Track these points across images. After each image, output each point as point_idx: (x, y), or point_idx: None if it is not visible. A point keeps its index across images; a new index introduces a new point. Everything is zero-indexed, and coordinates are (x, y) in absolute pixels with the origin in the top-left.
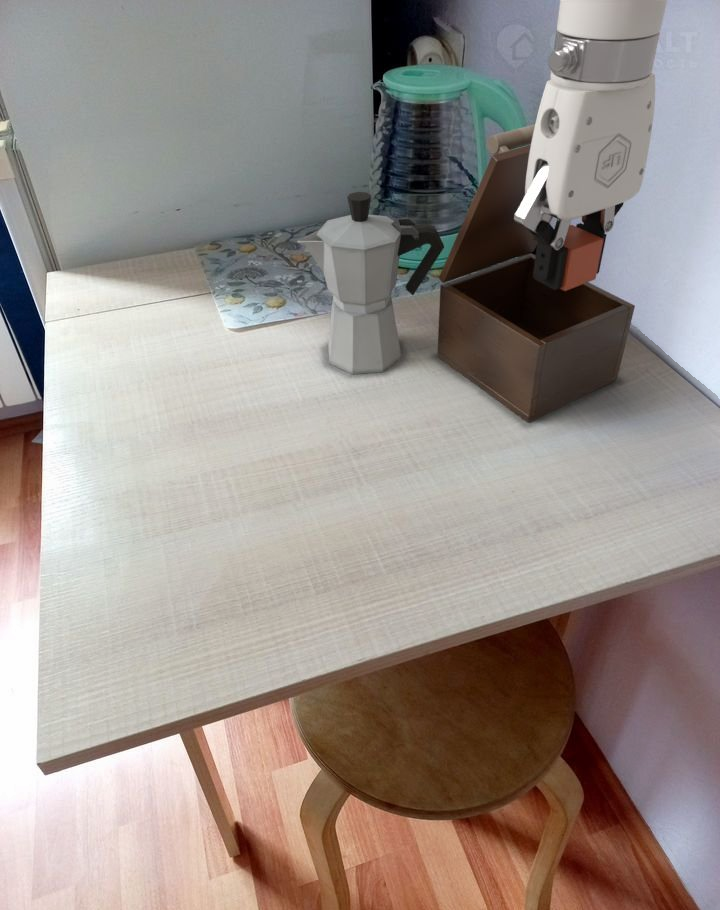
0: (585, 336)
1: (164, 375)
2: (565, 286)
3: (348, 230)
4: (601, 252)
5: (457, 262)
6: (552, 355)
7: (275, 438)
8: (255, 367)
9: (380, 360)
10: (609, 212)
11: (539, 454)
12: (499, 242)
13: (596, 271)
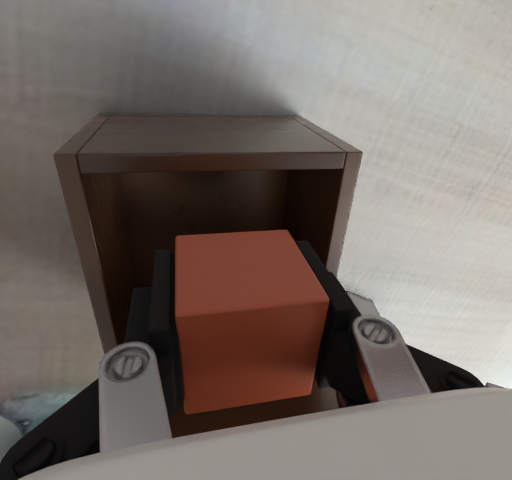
0: (224, 145)
1: (473, 360)
2: (290, 236)
3: None
4: (159, 287)
5: (325, 396)
6: (308, 142)
7: (494, 250)
8: (421, 344)
9: (354, 303)
10: (137, 415)
11: (343, 46)
12: (240, 422)
13: (179, 247)
